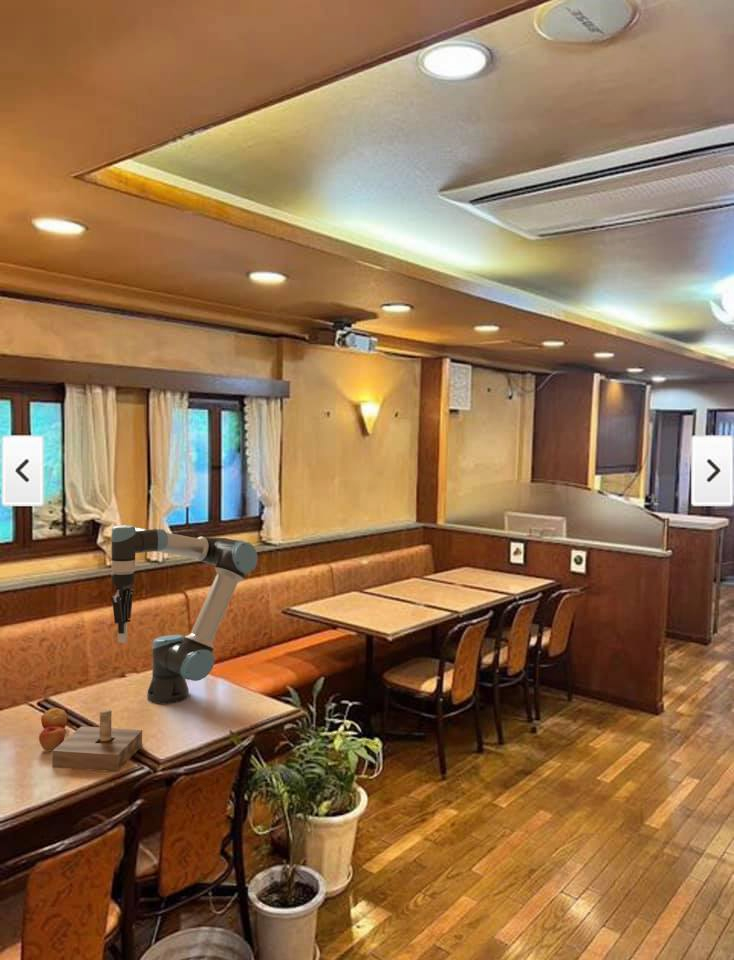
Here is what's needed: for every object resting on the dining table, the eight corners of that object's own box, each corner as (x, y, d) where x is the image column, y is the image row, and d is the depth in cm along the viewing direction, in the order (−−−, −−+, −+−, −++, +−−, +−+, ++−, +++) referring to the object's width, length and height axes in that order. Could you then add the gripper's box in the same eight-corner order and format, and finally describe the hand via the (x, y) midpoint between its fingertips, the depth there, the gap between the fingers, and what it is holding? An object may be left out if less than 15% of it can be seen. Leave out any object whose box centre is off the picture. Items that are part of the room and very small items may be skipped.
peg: (102, 753, 217) (102, 709, 217) (113, 754, 217) (113, 709, 216) (96, 758, 214) (97, 713, 213) (108, 759, 214) (108, 714, 213)
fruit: (59, 717, 240) (64, 701, 237) (67, 735, 236) (72, 719, 232) (34, 723, 235) (39, 707, 231) (42, 742, 230) (47, 725, 227)
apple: (63, 753, 216) (63, 728, 216) (37, 756, 214) (37, 730, 214) (66, 743, 223) (66, 719, 223) (41, 746, 221) (41, 721, 221)
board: (81, 741, 225) (81, 726, 225) (142, 745, 224) (142, 729, 224) (52, 767, 207) (52, 750, 207) (117, 771, 206) (117, 755, 206)
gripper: (120, 568, 241) (120, 636, 242) (103, 575, 228) (102, 647, 229) (141, 569, 240) (141, 637, 241) (125, 576, 227) (125, 648, 228)
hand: (122, 642), depth 235 cm, fingers closed
